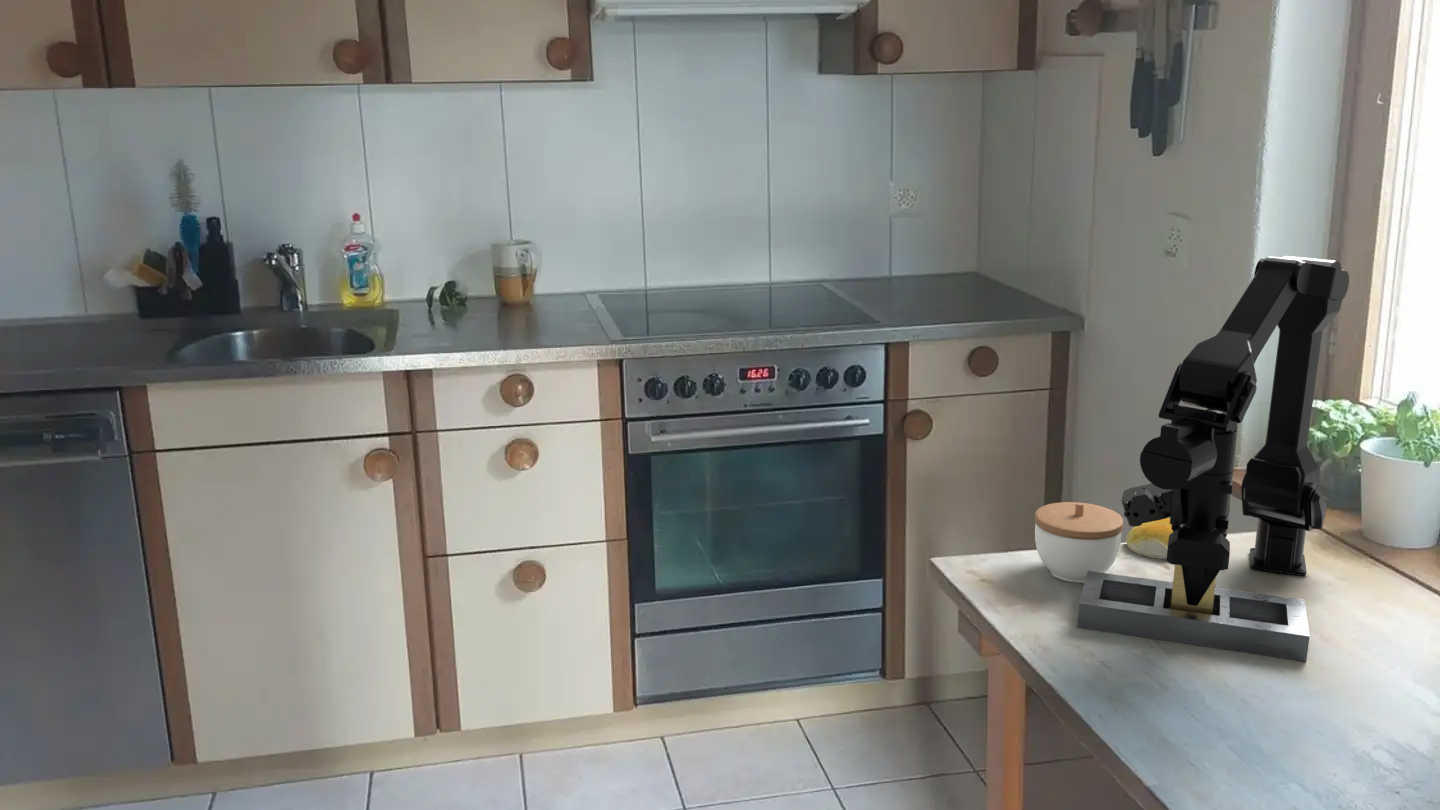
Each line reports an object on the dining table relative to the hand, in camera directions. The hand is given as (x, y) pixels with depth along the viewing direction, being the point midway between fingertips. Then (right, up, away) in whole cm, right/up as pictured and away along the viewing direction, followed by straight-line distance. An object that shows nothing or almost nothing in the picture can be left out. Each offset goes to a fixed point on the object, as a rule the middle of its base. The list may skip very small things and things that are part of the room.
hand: (1192, 596), depth 142 cm
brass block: (0, -2, 0) cm, 2 cm away
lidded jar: (-9, 0, +16) cm, 18 cm away
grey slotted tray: (0, -3, +1) cm, 4 cm away
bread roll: (+5, +2, +24) cm, 25 cm away
